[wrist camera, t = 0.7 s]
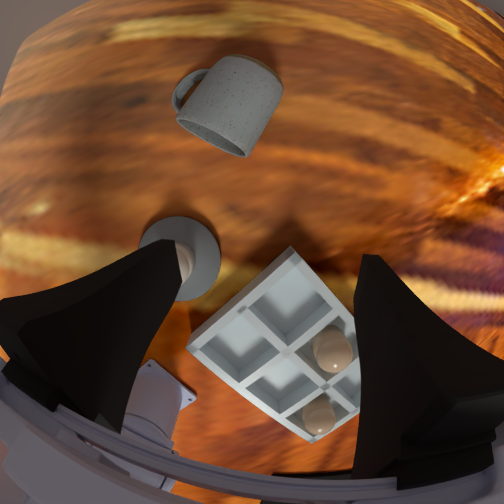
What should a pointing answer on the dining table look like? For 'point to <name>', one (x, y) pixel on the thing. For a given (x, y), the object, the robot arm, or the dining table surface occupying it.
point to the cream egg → (185, 259)
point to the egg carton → (281, 344)
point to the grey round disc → (201, 246)
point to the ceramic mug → (229, 103)
